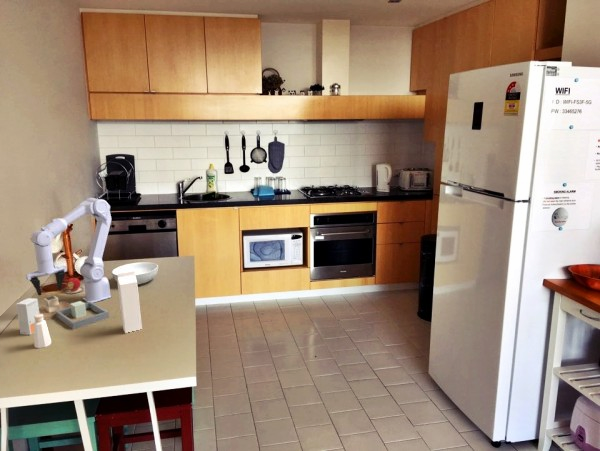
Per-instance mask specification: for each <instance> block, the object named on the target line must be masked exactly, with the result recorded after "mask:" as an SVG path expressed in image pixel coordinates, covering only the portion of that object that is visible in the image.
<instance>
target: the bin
mask: <svg viewBox="0 0 600 451" xmlns="http://www.w3.org/2000/svg"><path fill="white" fill-rule="evenodd" d="M84 303H85V307H86V310H89V309H90V310H92V311H94V312H96V313H97V314H95V315H90V316H89V317H88V316H87V317H85V318H82V319H78V320H75V321H74V320H73V319H71V318H69V317H68V316H69V315H72V313H71V307H70V308H66V309H63V310H59V311H56V315H57V317H56V318H57V319H58V320H60V321H62V322H63V323H64V324H66V325H67V326H68V327H69V328H71V329H72V330H76V329H79V328H82V327H84V326H88V325H91V324H94V323H97V322H100V321H103V319H104V320H106V318H107V319H109V318H110V315H109V311H108V310H106V309H104V308H103V307H100V306H99V305H97V304H95V302H94V303H92V302H87V301H86V302H84Z"/></svg>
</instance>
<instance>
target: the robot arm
mask: <svg viewBox="0 0 600 451" xmlns="http://www.w3.org/2000/svg"><path fill="white" fill-rule="evenodd" d="M84 215H92V216H93V217H94V219H95V220H96V221H97V222H96V224H95V225H96V226H95V229H94V232H93V233H94V234H93V237H92V241H91V245H90V248H89V254H88V257H87V258H85V259H84V262H83V264H82V265H81V266H80V268H79V273H80V275H81V276H82V277H83V284H84V285H83V286H84V291H85V292H84V293H85V297H83V298H82V300H84V301H85V302H86V303H87V302H92V303H94V304H95V303H96V302H97V303H98V302H100V301H104V300H107V299H110V298H112V296H111V289H110V282H109V279H108V278H107V277H106V276H104V274H105V272H104V267H105V265H104V262H103V257H104V256H103V255H104V251H105V247H106V243H107V240H108V236H109V235H108V234H109V232H110V227H111V223H112V216H111V215H112V214H111V205H110V204H109V203H108V202H107V200H105V199H102V198H101V199H100V198H94V197H87V198H86V200H83V201H81V202H80V204H79V205H77V207H75V208H74V209H72V210H71V211H70V212H68V213H67V214H66V215H64V216H63V217H62V218H60V217H57V218H52V219H51V220H50V222H49V223H48V224H46V225H44V226H41V227H40V229H37V230H35V231H34V232H32V234H31V237H30V241H31V242H32V243H33V245H34V252H35V259H36V266H37V271H33V272H30V273H27V274H25V278H26V280H28V281H30V282H31V284H32V285H33V287H34V290H35V291H36V293H37V295H38V296H42V290H41V281H40V279H39V278H41V277H46V276H51V275H55V280H56V285H57V290H58V291H62V287H63V281H64V278H65V277H66V272H67V271H68V269H67V266H66V265H61V266H55V262H54V258H53V251H52V246H51V244H52V242H53V241H54V240H53V239H55V238H56V237H58V236H60V234H62V233H63V232H65V231H66V230H68V225H69V224H71V223H73V222H74V221H76V220H78V219H79V218H81V217H82V216H84Z"/></svg>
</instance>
